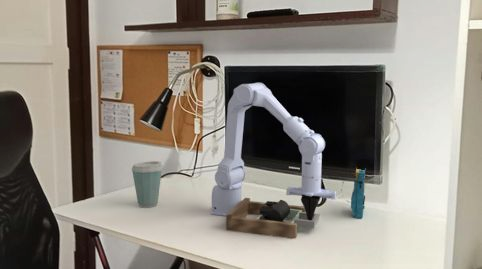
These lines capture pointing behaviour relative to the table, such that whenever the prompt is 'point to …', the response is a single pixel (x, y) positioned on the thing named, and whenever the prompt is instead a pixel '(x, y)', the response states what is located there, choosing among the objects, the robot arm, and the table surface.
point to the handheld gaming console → (358, 195)
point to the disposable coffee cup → (147, 182)
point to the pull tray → (300, 218)
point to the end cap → (275, 211)
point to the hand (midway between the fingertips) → (310, 219)
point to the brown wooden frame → (259, 221)
